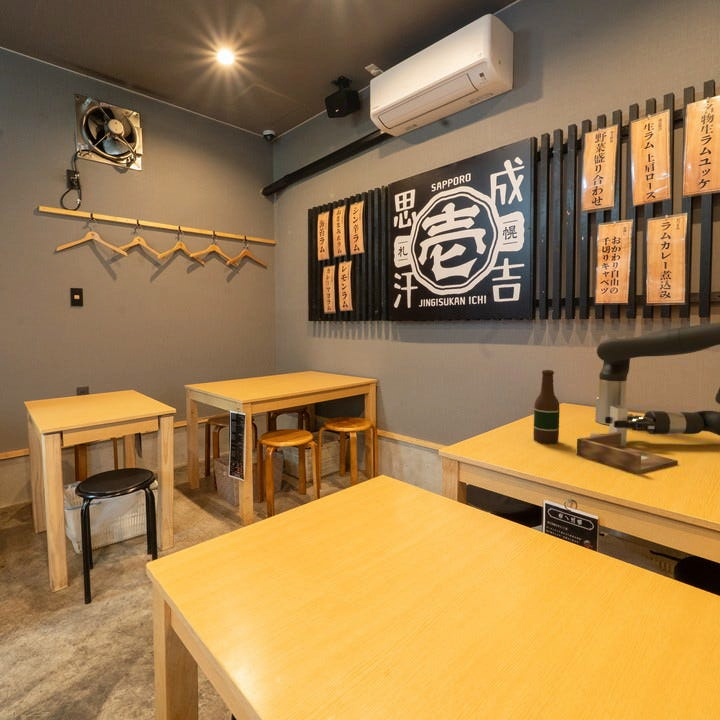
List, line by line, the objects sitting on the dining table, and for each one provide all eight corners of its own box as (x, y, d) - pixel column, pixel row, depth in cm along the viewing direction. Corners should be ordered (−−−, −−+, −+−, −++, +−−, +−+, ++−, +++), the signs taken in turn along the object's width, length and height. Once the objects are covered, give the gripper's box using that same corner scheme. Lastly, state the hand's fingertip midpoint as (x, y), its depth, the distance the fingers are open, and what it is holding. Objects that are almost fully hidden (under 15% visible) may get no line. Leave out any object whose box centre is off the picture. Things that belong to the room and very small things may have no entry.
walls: (576, 451, 129) (577, 438, 128) (616, 444, 136) (616, 432, 136) (636, 470, 112) (637, 455, 112) (677, 460, 120) (678, 446, 119)
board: (576, 455, 129) (576, 451, 128) (616, 447, 136) (616, 444, 136) (636, 474, 112) (636, 470, 112) (677, 464, 120) (677, 460, 120)
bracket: (618, 441, 143) (619, 405, 142) (626, 445, 138) (627, 408, 137) (590, 440, 144) (591, 405, 143) (596, 444, 139) (598, 408, 138)
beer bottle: (557, 439, 146) (559, 369, 144) (559, 445, 139) (562, 371, 137) (532, 437, 149) (534, 368, 147) (534, 443, 141) (536, 371, 139)
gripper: (652, 407, 146) (600, 406, 147) (679, 416, 132) (621, 415, 133) (651, 428, 146) (599, 427, 148) (678, 440, 132) (620, 439, 134)
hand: (610, 422), depth 141 cm, fingers open, 5 cm apart
